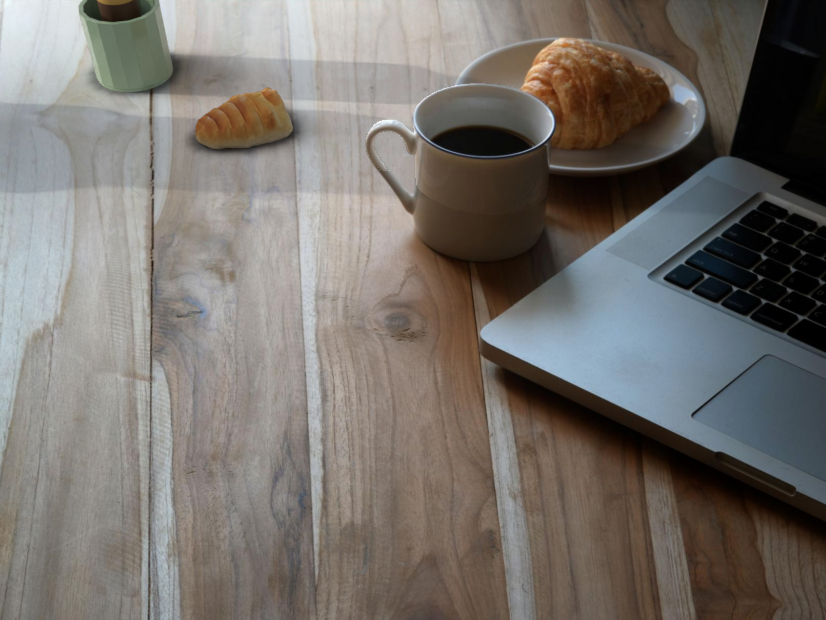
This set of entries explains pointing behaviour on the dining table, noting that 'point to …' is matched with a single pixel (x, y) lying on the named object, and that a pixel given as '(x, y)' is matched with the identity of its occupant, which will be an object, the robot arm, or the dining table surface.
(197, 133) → the pastry
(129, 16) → the tube
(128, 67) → the canister
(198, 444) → the dining table surface
